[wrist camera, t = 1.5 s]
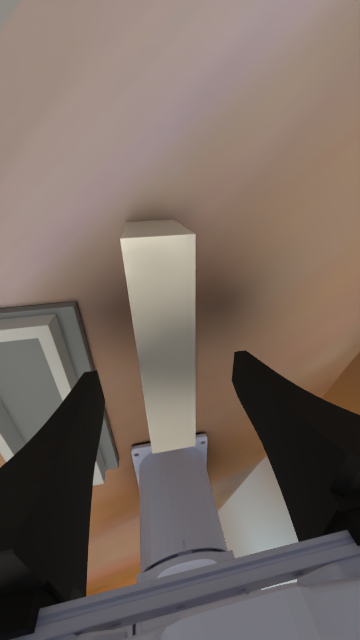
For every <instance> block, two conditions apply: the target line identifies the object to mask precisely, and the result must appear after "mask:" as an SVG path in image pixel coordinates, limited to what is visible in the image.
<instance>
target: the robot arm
mask: <svg viewBox="0 0 360 640" xmlns="http://www.w3.org/2000/svg"><path fill="white" fill-rule="evenodd" d="M232 382H233V385H234V388H235V391H236V393H237V396H238V398H239V400H240V402H241V404H242V406H243V408H244V409H245V411H246V413H247V415H248V417H249V419H250V421H251V423H252V424H253V426H254V428H255V430H256V432H257V434H258V436H259V438H260V440H261V442H262V444H263V447H264V449H265V451H266V454H267V456H268V459H269V461H270V463H271V466H272V468H273V471H274V473H275V476H276V479H277V481H278V484H279V486H280V489H281V492H282V495H283V497H284V500H285V503H286V506H287V508H288V511H289V514H290V517H291V520H292V523H293V526H294V529H295V532H296V535H297V538H298V541H299V542H298V543H294V544H290V545H286V546H282V547H278V548H274V549H270V550H266V551H262V552H259V553H255V554H251V555H247V556H243V557H239V558H234V554H233V551H232V550H231V551H228V550H227V546H226V542H225V538H224V535H223V531H222V527H221V523H220V519H219V515H218V512H217V508H216V504H215V500H214V496H213V492H212V489H211V485H210V481H209V477H208V473H207V469H206V466H207V440H208V438H207V435H206V434H198V435H196V446H192V447H187V448H181V449H176V450H170V451H165V452H159V453H154V454H152V448H151V443H148V444H142V445H137V446H133V447H132V448H131V455H132V459H133V464H134V468H135V473H136V477H137V482H138V486H139V504H140V566H141V573H139V574H137V584H133V585H130V586H126V587H122V588H118V589H114V590H110V591H106V592H102V593H98V594H94V595H91V596H87V597H86V584H87V561H88V542H89V526H90V512H91V499H92V488H93V477H94V469H95V463H96V458H97V452H98V447H99V441H100V436H101V431H102V425H103V419H104V404H105V399H104V395H103V391H102V388H101V384H100V380H99V376H98V373H97V370H96V371H89V372H84V373H83V374H82V376H81V377H80V378H79V380H78V381H77V383H76V384H75V386H74V387H73V388H72V390H71V391H70V392H69V394H68V395H67V397H66V398H65V399H64V400H63V402H62V403H61V404H60V406H59V407H58V408H57V410H56V411H55V412H54V413H53V414H52V416H51V417H50V418H49V419H48V420H47V422H46V423H45V424H44V425H43V426H42V427H41V428H40V430H39V431H38V432H37V433H36V434H35V435H34V436H33V437H32V438H31V439H30V440H29V441H28V442H27V443H26V444H25V445H24V446H23V447H22V448H21V449H20V450H19V451H18V452H17V453H16V454H15V455H14V456H13V457H12V458H11V459H9V460H8V461H7V462H6V463H5V464H4V465H3V466H2V467H1V468H0V640H360V415H358V414H355V413H353V412H350V411H348V410H346V409H343V408H341V407H338V406H336V405H334V404H332V403H330V402H327V401H325V400H323V399H321V398H319V397H317V396H315V395H313V394H311V393H310V392H308V391H306V390H304V389H302V388H300V387H299V386H297V385H295V384H294V383H292V382H290V381H289V380H287V379H286V378H284V377H283V376H281V375H279V374H278V373H276V372H275V371H274V370H272V369H271V368H269V367H268V366H266V365H265V364H264V363H262V362H261V361H260V360H258V359H257V358H255V357H254V356H253V355H251V354H250V353H248V352H247V351H238V352H235V354H234V364H233V373H232ZM294 579H297V583H290V584H284V585H279V586H276V587H272V588H269V589H265V590H261V588H265V587H269V586H272V585H276V584H279V583H283V582H287V581H290V580H294ZM114 629H115V630H114Z"/></svg>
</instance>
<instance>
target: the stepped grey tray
mask: <svg viewBox="0 0 360 640" xmlns="http://www.w3.org/2000/svg"><path fill="white" fill-rule="evenodd" d="M89 371H95V370H94V366H93V363H92V359H91V355H90V352H89V348H88V344H87V341H86V337H85V333H84V330H83V326H82V322H81V319H80V315H79V311H78V308H77V304H76V301H75V302H64V303H54V304H43V305H33V306H22V307H12V308H1V309H0V453H1V455H2V456H3V458H4V459H5V461H6V462H7V461H8V460H9V459H11V458H12V457H13V456H14V455H15V454H16V453H17V452H18V451H19V450H20V449H21V448H22V447H23V446H24V445H25V444H26V443H27V442H28V441H29V440H30V439H31V438H32V437H33V436H34V435H35V434H36V433H37V432H38V431H39V430H40V428H41V427H42V426H43V425H44V424H45V423H46V422H47V420H48V419H49V418H50V417H51V416H52V414H53V413H54V412H55V411H56V410H57V408H58V407H59V406H60V404H61V403H62V402H63V400H64V399H65V398H66V397H67V395H68V394H69V392H70V391H71V390H72V388H73V387H74V386H75V384H76V383H77V381H78V380H79V378H80V377H81V376H82V374H83V373H84V372H89ZM118 467H119V458H118V455H117V451H116V447H115V444H114V440H113V436H112V433H111V429H110V425H109V422H108V418H107V414H106V411H105V407H104V419H103V425H102V431H101V436H100V441H99V447H98V452H97V458H96V463H95V469H94V477H93V486H94V485H99V484H104V480H105V470H108V469H113V468H118Z"/></svg>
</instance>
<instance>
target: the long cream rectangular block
mask: <svg viewBox="0 0 360 640" xmlns="http://www.w3.org/2000/svg"><path fill="white" fill-rule="evenodd" d="M120 242H121V248H122V255H123V262H124V268H125V275H126V282H127V288H128V295H129V302H130V308H131V315H132V322H133V328H134V335H135V341H136V348H137V355H138V361H139V368H140V375H141V381H142V388H143V395H144V401H145V408H146V415H147V421H148V428H149V435H150V441H151V448H152V454H154V453H159V452H165V451H170V450H176V449H181V448H187V447H192V446H196V314H195V233H193V232H192V231H190V230H189V229H188V228H186V227H185V226H183V225H182V224H180V223H179V222H177V221H176V220H174V219H173V220H154V221H135V222H125V225H124V228H123V231H122V234H121V237H120Z"/></svg>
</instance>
